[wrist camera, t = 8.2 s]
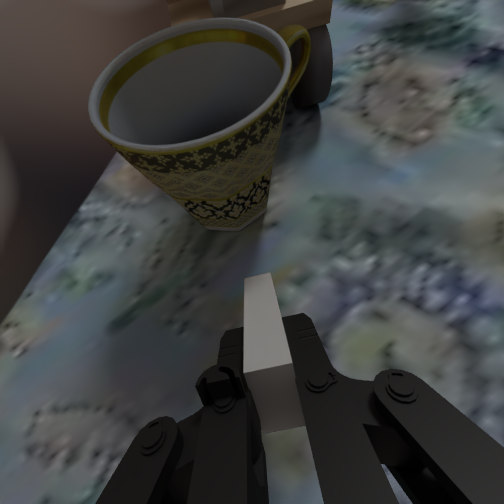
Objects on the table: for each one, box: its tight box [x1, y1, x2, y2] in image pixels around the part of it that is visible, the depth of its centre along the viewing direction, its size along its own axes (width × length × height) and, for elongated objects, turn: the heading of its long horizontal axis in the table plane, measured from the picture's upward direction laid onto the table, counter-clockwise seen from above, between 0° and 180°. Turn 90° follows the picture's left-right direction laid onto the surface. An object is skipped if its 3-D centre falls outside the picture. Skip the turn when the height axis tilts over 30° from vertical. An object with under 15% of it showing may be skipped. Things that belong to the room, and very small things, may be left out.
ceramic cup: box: [88, 18, 311, 231], centre depth 16 cm, size 13×10×10 cm
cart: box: [167, 0, 333, 109], centre depth 20 cm, size 10×12×12 cm
